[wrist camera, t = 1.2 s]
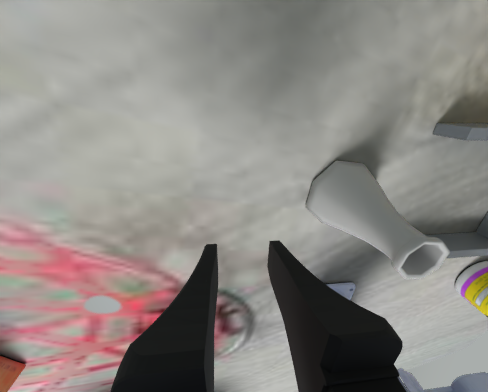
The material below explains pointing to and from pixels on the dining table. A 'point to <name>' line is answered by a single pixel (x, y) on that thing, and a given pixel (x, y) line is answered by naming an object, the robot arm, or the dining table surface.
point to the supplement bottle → (475, 286)
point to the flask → (373, 218)
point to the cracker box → (9, 372)
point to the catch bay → (484, 238)
